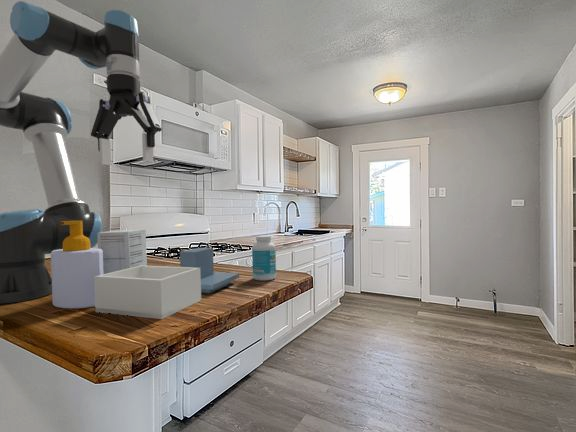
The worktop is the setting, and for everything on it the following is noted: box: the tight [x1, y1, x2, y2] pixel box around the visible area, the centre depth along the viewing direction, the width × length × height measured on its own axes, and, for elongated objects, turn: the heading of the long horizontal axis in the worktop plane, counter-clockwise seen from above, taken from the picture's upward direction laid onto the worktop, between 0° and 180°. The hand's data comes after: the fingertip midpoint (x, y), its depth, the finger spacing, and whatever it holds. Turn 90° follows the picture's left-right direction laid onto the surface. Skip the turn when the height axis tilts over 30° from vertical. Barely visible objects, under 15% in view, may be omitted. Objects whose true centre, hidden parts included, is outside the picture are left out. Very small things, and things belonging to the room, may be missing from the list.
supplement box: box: [97, 229, 148, 274], centre depth 93 cm, size 10×9×17 cm
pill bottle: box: [251, 235, 277, 281], centre depth 102 cm, size 8×7×14 cm
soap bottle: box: [50, 221, 104, 310], centre depth 78 cm, size 13×8×20 cm, turn 75°
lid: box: [179, 247, 240, 294], centre depth 93 cm, size 19×15×11 cm
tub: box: [94, 265, 202, 320], centre depth 75 cm, size 18×14×8 cm
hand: (126, 162), depth 81 cm, fingers open, 13 cm apart
